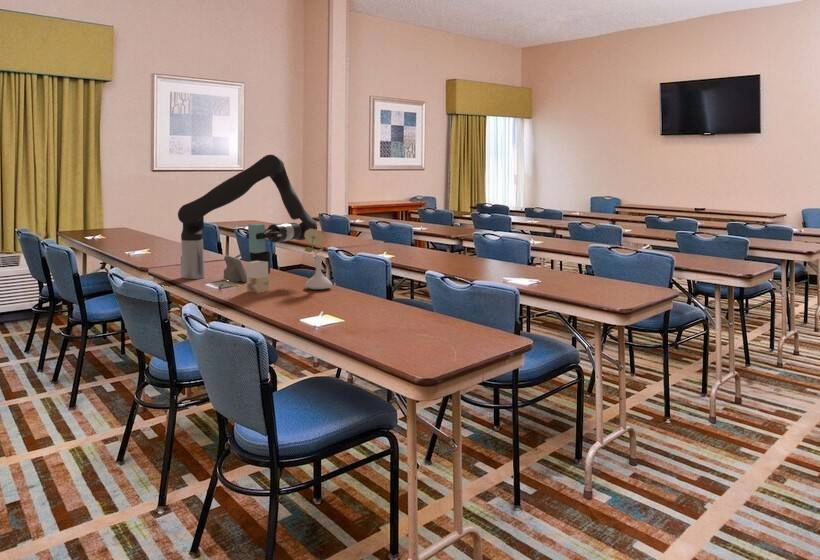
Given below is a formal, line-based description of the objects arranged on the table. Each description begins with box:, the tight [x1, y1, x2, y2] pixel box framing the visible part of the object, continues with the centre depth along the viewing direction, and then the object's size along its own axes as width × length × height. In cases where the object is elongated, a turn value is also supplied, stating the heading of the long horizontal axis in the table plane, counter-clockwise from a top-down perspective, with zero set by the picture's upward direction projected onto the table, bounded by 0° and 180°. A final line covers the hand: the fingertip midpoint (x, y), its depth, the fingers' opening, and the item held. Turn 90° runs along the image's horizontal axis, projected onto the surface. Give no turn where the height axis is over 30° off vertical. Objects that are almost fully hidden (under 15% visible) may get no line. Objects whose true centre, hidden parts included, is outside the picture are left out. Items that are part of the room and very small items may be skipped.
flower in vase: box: [303, 228, 333, 290], centre depth 271 cm, size 13×11×25 cm
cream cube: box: [246, 261, 269, 279], centre depth 264 cm, size 6×6×6 cm
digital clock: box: [223, 255, 247, 283], centre depth 289 cm, size 16×9×11 cm, turn 24°
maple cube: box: [246, 276, 270, 294], centre depth 265 cm, size 6×6×6 cm
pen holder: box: [249, 250, 272, 275], centre depth 309 cm, size 9×9×10 cm
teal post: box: [247, 223, 266, 253], centre depth 262 cm, size 4×4×11 cm
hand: (252, 236), depth 260 cm, fingers closed on teal post, 4 cm apart
